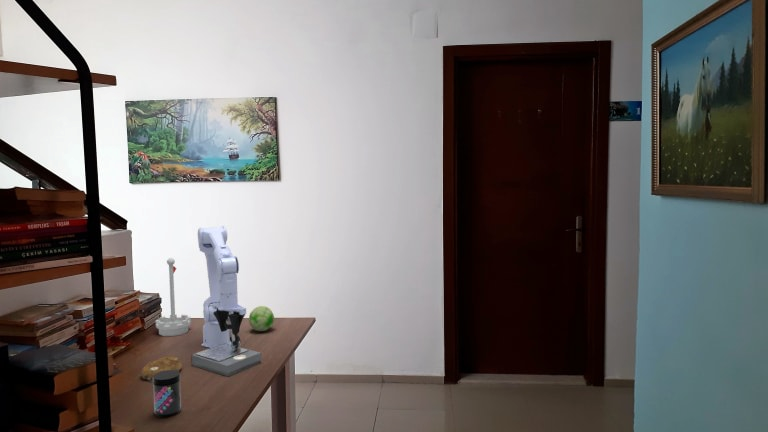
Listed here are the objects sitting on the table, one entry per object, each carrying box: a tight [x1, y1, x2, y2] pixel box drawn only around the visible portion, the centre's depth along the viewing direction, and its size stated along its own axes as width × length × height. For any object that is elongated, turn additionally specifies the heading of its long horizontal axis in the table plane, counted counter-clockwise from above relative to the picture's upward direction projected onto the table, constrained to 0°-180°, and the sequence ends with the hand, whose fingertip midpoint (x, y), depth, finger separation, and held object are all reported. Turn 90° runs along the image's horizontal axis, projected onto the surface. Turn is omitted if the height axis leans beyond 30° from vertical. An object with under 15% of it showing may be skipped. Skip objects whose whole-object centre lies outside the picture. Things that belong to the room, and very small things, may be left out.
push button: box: [224, 319, 242, 350], centre depth 179 cm, size 7×5×10 cm
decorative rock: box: [140, 356, 183, 383], centre depth 169 cm, size 11×4×15 cm
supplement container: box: [152, 370, 182, 418], centre depth 141 cm, size 7×7×10 cm
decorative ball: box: [248, 305, 275, 332], centre depth 211 cm, size 10×10×10 cm
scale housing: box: [190, 343, 262, 377], centre depth 176 cm, size 18×14×4 cm
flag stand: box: [155, 257, 192, 337], centre depth 210 cm, size 13×13×30 cm
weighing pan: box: [194, 344, 248, 362], centre depth 177 cm, size 12×12×1 cm
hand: (229, 332), depth 178 cm, fingers closed on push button, 5 cm apart
